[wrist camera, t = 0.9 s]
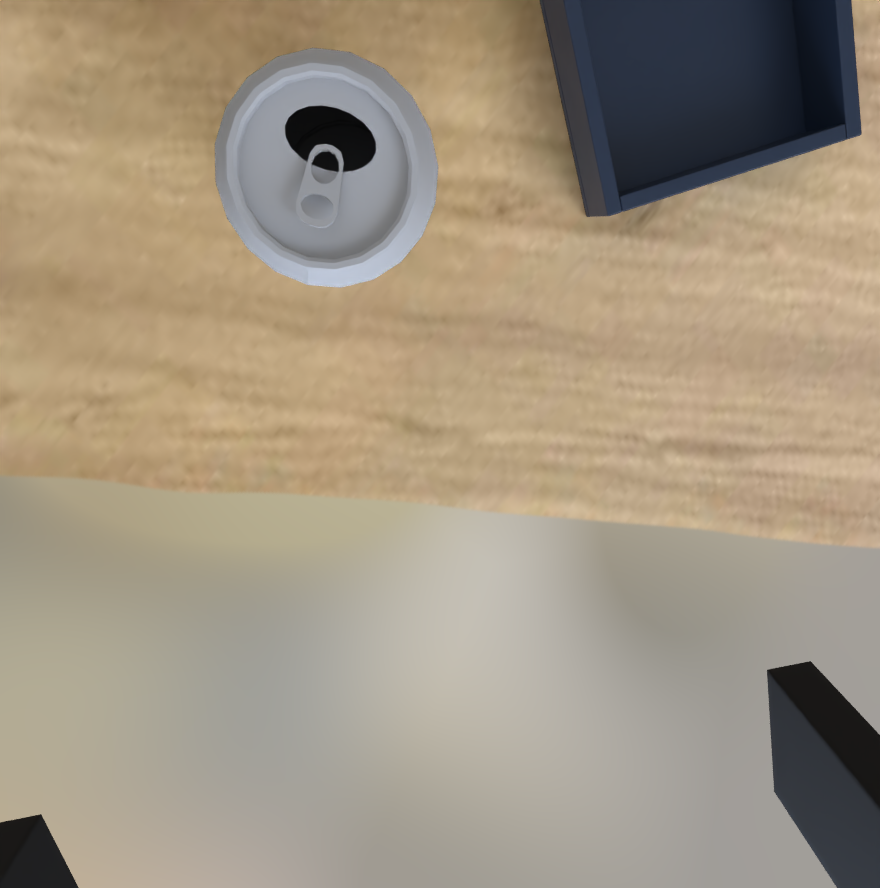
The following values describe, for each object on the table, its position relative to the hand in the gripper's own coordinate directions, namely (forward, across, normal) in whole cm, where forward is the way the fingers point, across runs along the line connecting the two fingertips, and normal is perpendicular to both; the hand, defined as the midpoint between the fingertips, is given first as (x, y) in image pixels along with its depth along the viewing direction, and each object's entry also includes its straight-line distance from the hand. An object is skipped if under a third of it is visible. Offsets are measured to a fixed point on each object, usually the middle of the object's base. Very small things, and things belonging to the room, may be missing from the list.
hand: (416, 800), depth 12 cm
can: (+25, -1, +12) cm, 28 cm away
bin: (+25, +16, +15) cm, 34 cm away
